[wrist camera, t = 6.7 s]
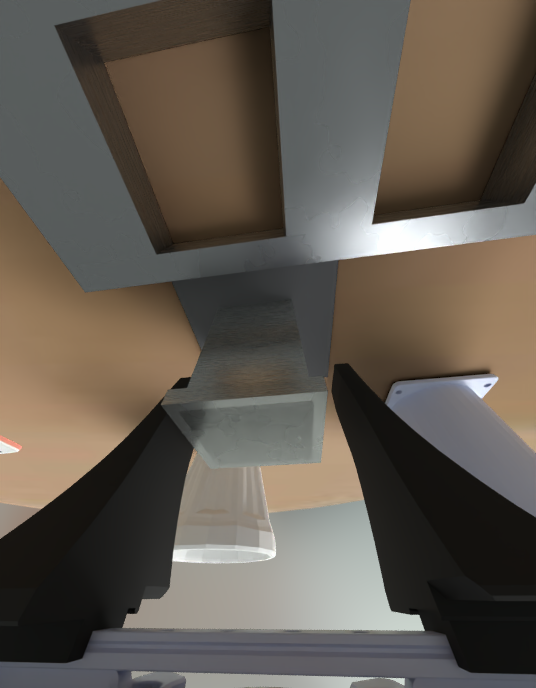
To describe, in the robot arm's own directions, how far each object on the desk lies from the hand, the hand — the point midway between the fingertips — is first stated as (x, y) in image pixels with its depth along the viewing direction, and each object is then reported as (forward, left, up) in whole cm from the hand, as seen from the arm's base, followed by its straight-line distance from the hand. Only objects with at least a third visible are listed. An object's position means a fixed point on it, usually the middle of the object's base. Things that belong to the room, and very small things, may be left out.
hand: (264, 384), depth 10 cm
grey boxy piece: (0, 0, -4) cm, 4 cm away
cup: (-15, +6, -5) cm, 17 cm away
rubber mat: (0, 0, -4) cm, 4 cm away
